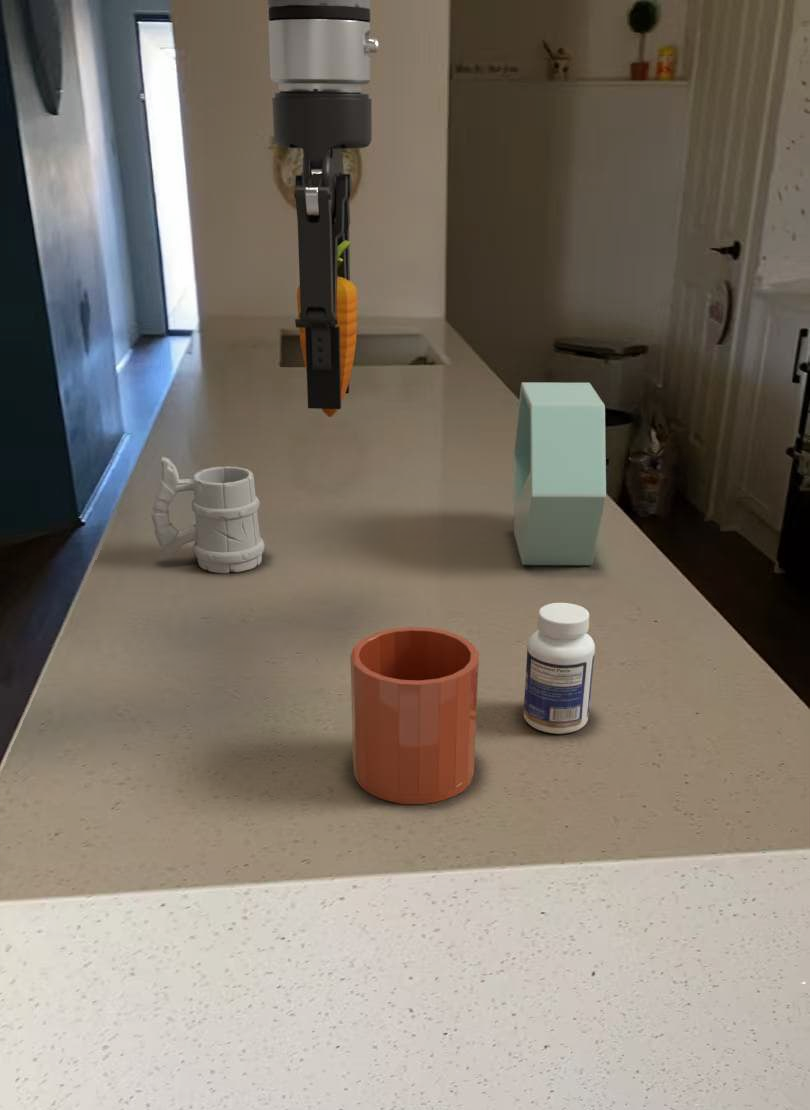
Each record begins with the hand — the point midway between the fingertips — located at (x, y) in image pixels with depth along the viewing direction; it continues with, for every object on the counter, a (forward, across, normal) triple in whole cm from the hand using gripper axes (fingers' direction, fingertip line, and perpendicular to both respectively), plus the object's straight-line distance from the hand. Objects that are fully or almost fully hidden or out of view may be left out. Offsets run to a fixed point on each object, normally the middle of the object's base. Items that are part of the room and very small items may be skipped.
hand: (329, 399), depth 93 cm
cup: (+23, -23, -9) cm, 34 cm away
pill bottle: (+23, -14, -20) cm, 34 cm away
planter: (+23, +25, -22) cm, 40 cm away
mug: (+23, +17, +16) cm, 33 cm away
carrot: (+2, 0, 0) cm, 2 cm away
